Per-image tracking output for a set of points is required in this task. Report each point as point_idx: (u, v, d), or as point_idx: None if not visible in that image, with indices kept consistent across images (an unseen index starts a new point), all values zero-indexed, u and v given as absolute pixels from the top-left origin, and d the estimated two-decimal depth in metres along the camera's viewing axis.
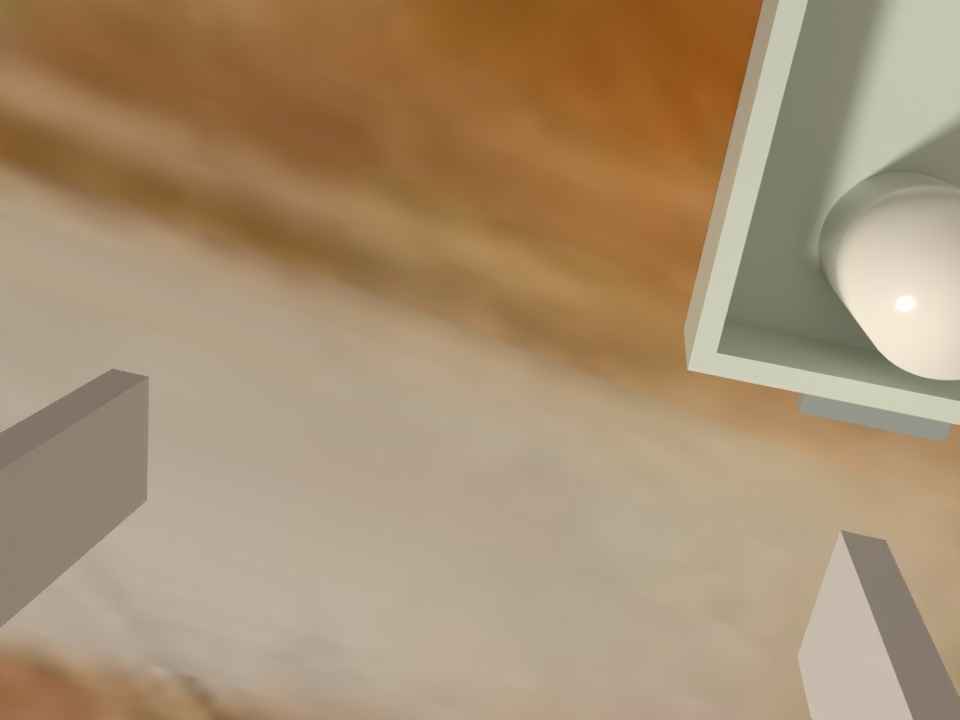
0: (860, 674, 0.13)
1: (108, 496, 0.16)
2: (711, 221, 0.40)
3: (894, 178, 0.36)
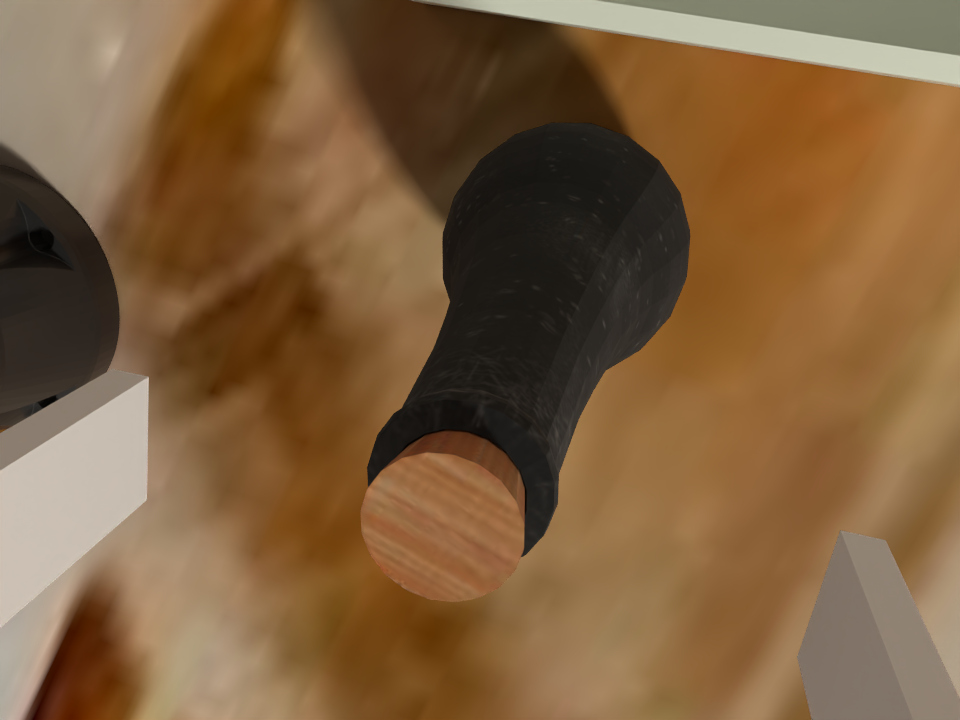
0: (861, 674, 0.13)
1: (108, 496, 0.16)
2: None
3: None
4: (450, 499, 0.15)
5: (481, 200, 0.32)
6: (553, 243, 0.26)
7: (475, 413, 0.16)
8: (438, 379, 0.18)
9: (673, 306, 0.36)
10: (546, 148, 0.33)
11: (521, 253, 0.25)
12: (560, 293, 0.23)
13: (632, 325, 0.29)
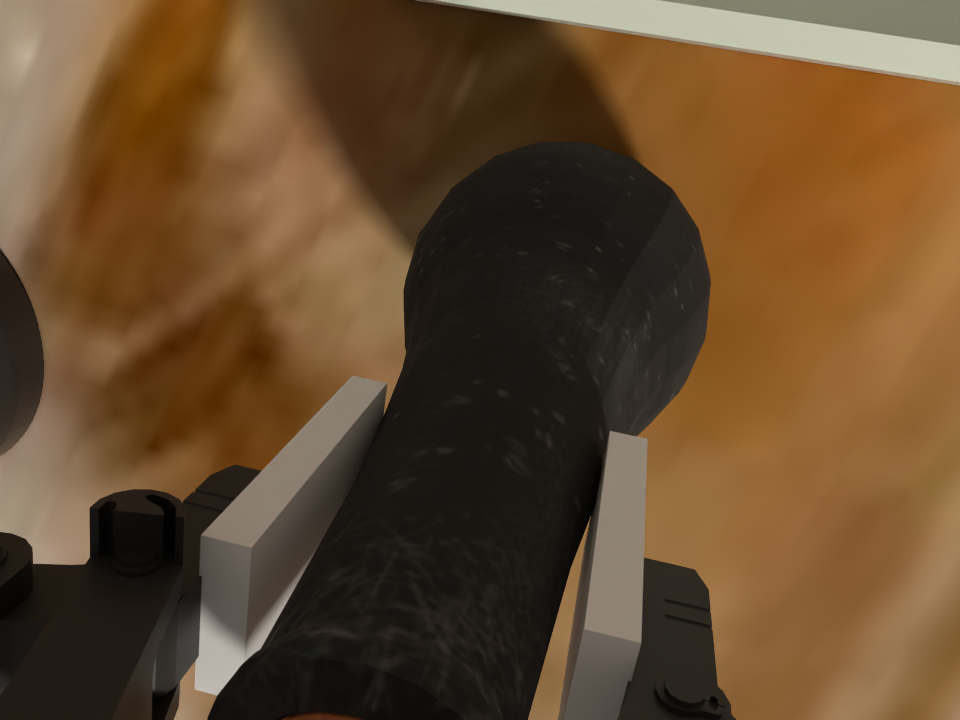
0: (592, 537, 0.15)
1: None
2: None
3: None
4: None
5: (447, 244, 0.25)
6: (532, 315, 0.19)
7: (369, 685, 0.09)
8: (327, 587, 0.11)
9: (690, 370, 0.29)
10: (531, 177, 0.26)
11: (488, 333, 0.18)
12: (538, 399, 0.16)
13: (639, 413, 0.23)
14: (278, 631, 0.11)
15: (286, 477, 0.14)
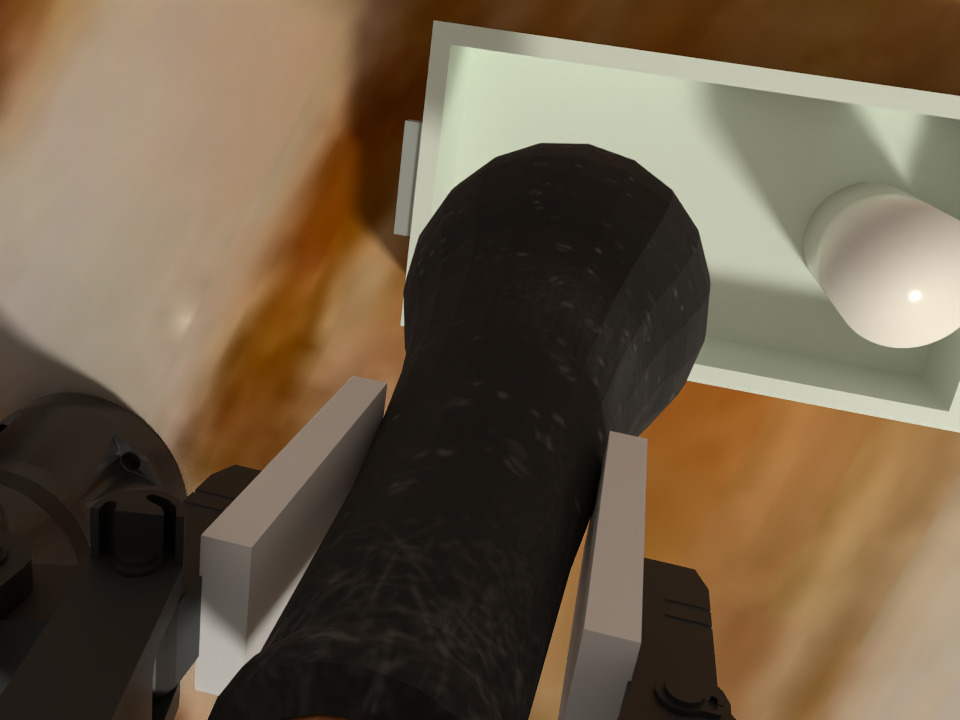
0: (591, 536, 0.15)
1: None
2: None
3: (809, 262, 0.47)
4: None
5: (447, 245, 0.25)
6: (532, 317, 0.19)
7: (369, 688, 0.09)
8: (327, 589, 0.11)
9: (690, 371, 0.29)
10: (530, 178, 0.26)
11: (488, 334, 0.18)
12: (537, 401, 0.16)
13: (639, 414, 0.23)
14: (278, 634, 0.11)
15: (286, 477, 0.14)
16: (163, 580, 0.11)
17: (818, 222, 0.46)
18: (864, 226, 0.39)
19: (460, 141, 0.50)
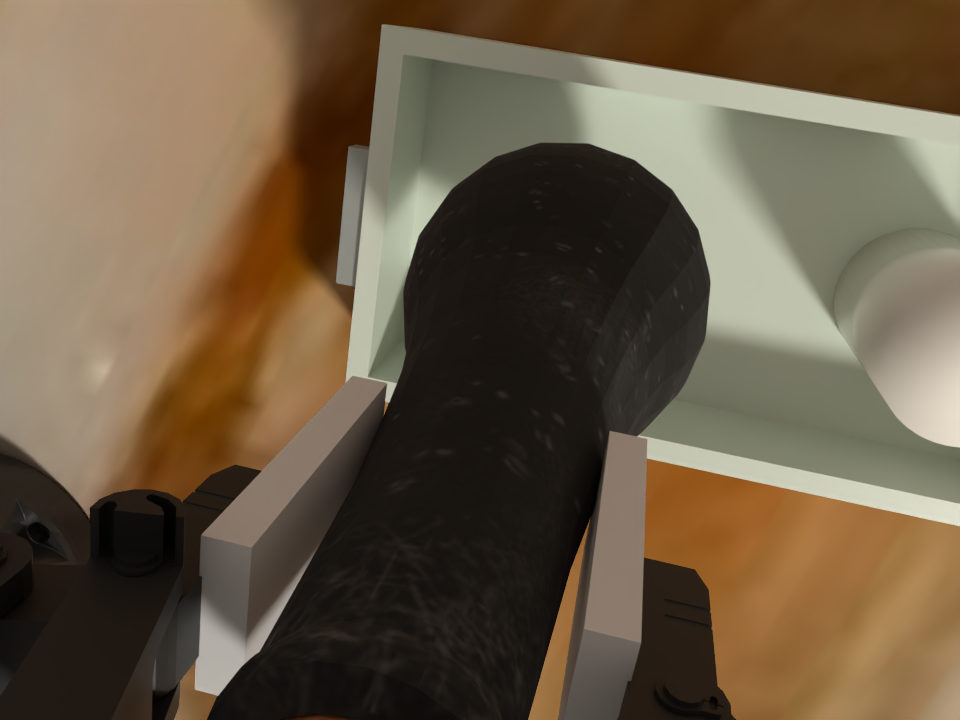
0: (592, 536, 0.15)
1: None
2: None
3: (841, 325, 0.38)
4: None
5: (446, 245, 0.25)
6: (532, 316, 0.19)
7: (369, 688, 0.09)
8: (327, 589, 0.11)
9: (690, 371, 0.29)
10: (530, 177, 0.26)
11: (488, 334, 0.18)
12: (537, 400, 0.16)
13: (639, 414, 0.23)
14: (277, 633, 0.11)
15: (286, 477, 0.14)
16: (163, 580, 0.11)
17: (854, 278, 0.37)
18: (921, 296, 0.31)
19: (421, 169, 0.41)
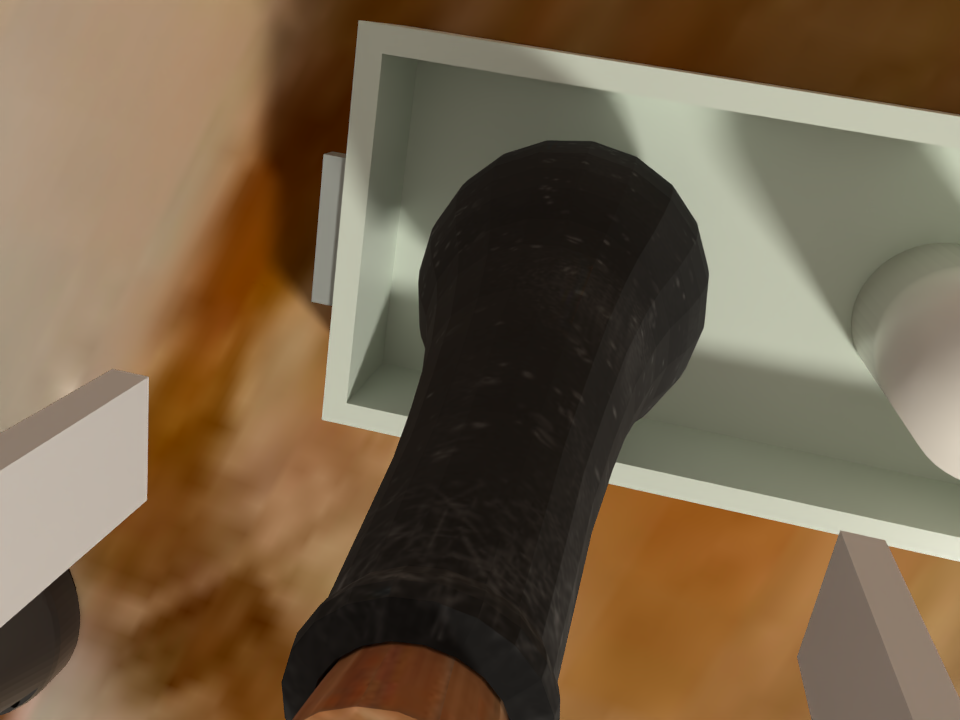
0: (860, 674, 0.13)
1: (108, 496, 0.16)
2: None
3: (861, 348, 0.35)
4: None
5: (462, 238, 0.27)
6: (549, 304, 0.21)
7: (436, 618, 0.11)
8: (387, 541, 0.13)
9: (690, 357, 0.31)
10: (540, 174, 0.28)
11: (510, 321, 0.20)
12: (559, 380, 0.18)
13: (646, 395, 0.24)
14: (346, 579, 0.12)
15: None
16: None
17: (876, 297, 0.34)
18: (954, 322, 0.28)
19: (405, 177, 0.38)
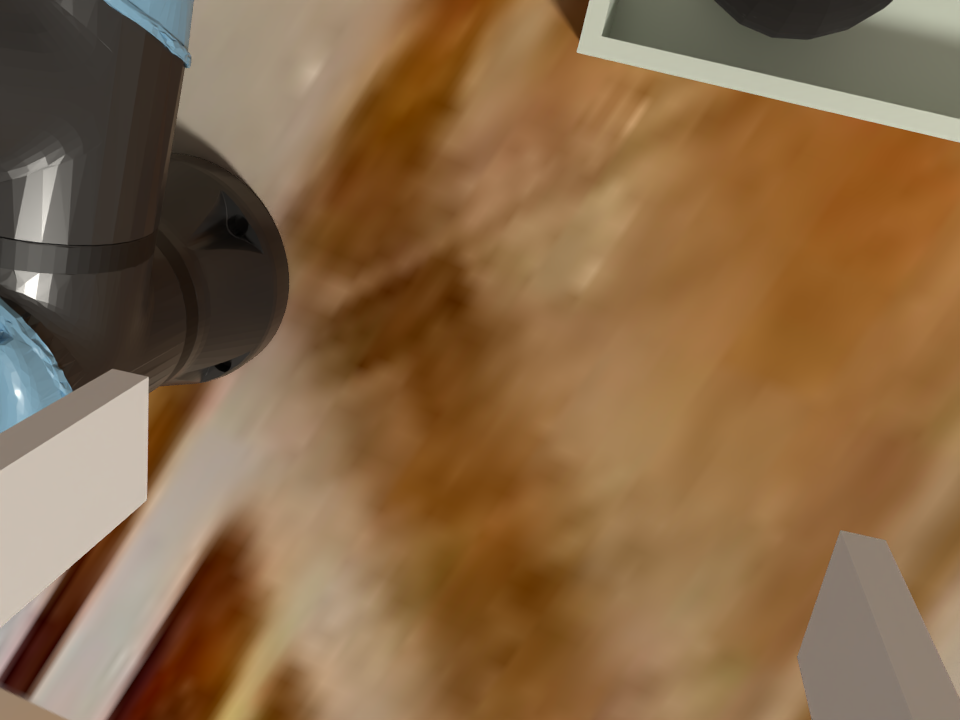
0: (861, 674, 0.13)
1: (108, 496, 0.16)
2: None
3: None
4: None
5: None
6: None
7: None
8: None
9: None
10: None
11: None
12: None
13: None
14: None
15: None
16: None
17: None
18: None
19: None
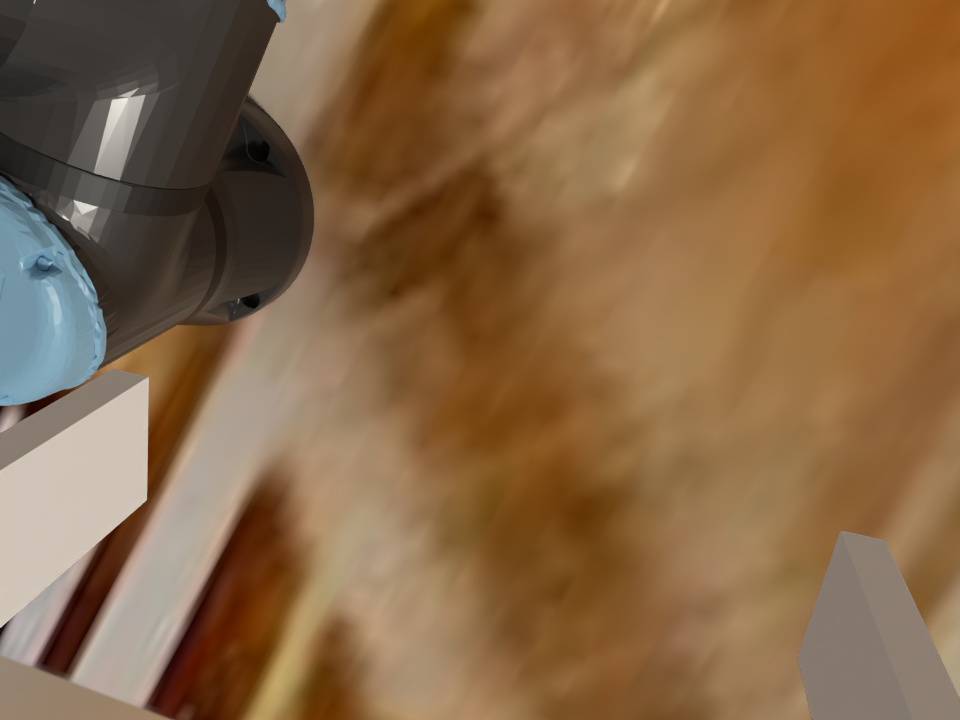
0: (861, 674, 0.13)
1: (108, 496, 0.16)
2: None
3: None
4: None
5: None
6: None
7: None
8: None
9: None
10: None
11: None
12: None
13: None
14: None
15: None
16: None
17: None
18: None
19: None
